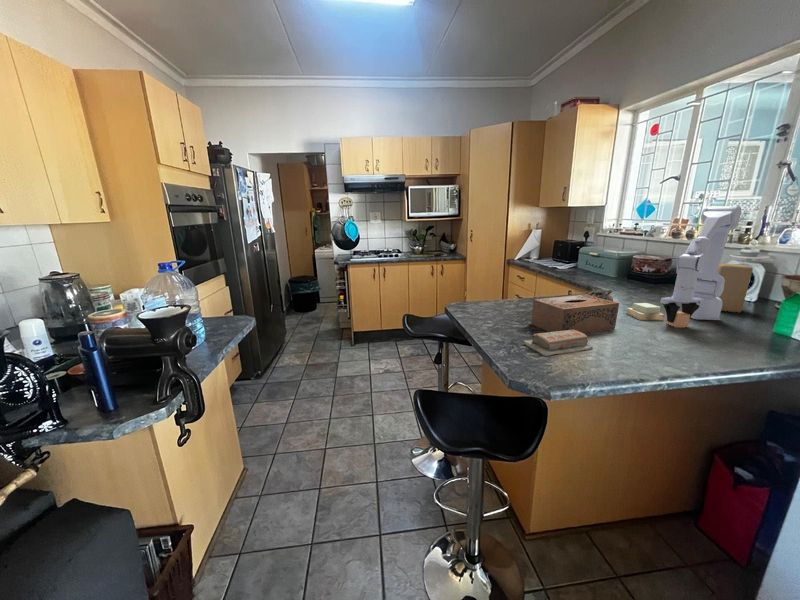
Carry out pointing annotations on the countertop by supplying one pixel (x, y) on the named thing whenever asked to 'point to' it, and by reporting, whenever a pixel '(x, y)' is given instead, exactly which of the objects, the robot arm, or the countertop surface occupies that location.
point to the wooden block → (734, 285)
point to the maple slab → (645, 315)
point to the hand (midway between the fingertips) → (677, 321)
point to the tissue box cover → (574, 313)
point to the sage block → (646, 308)
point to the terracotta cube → (680, 320)
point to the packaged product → (558, 342)
